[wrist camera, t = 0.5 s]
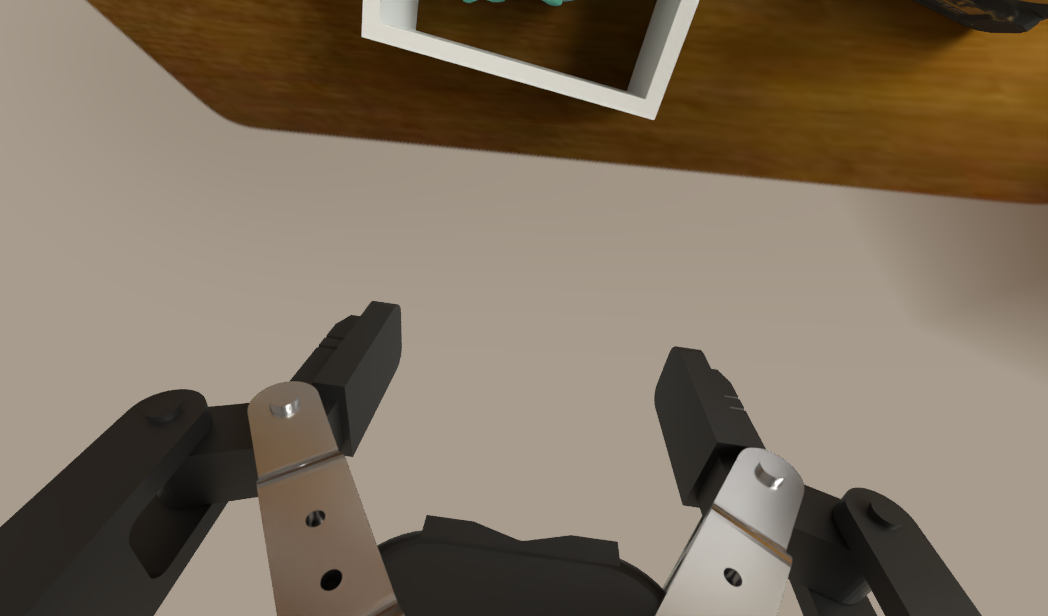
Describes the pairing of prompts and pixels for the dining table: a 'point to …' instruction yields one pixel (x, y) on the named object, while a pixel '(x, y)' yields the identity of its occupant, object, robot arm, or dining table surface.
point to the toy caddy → (395, 24)
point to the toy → (550, 0)
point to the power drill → (992, 13)
